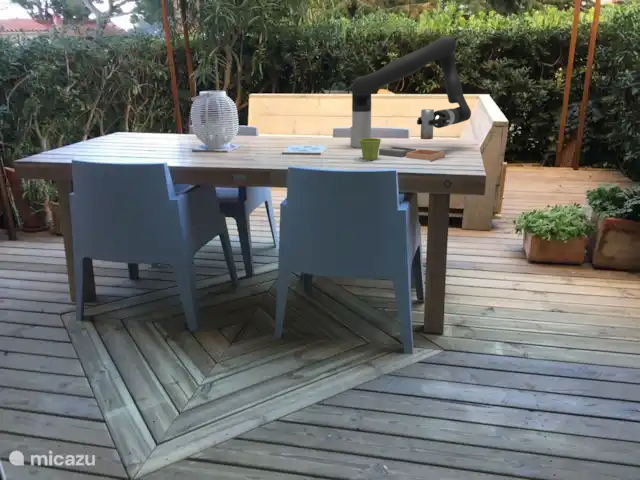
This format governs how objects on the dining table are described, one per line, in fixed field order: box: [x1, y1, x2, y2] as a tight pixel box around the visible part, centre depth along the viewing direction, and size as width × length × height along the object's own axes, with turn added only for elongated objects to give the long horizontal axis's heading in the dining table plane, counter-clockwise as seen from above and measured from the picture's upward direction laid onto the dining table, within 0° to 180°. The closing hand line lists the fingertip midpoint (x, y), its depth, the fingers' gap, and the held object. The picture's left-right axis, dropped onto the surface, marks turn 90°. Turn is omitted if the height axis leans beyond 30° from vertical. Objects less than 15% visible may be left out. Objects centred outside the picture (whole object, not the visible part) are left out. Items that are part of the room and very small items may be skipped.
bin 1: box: [378, 146, 417, 158], centre depth 244 cm, size 12×12×3 cm
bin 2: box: [405, 148, 446, 163], centre depth 235 cm, size 12×12×3 cm
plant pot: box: [359, 137, 382, 162], centre depth 234 cm, size 9×9×9 cm
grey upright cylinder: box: [420, 108, 435, 140], centre depth 231 cm, size 5×5×12 cm
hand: (424, 122), depth 229 cm, fingers closed on grey upright cylinder, 5 cm apart
